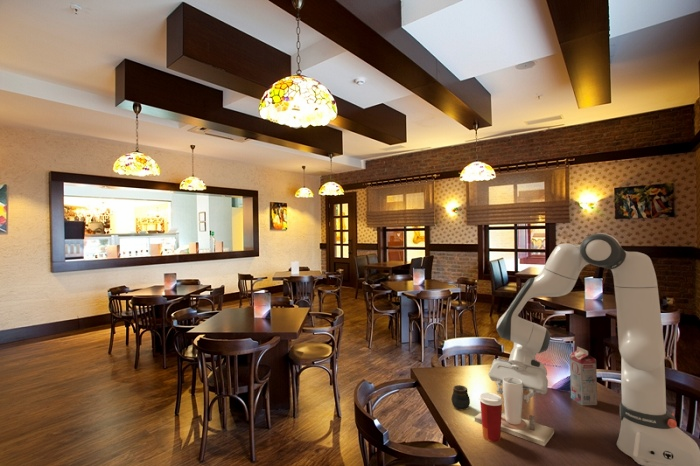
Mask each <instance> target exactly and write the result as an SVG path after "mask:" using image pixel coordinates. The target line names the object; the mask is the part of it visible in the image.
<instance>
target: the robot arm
mask: <svg viewBox="0 0 700 466" xmlns="http://www.w3.org/2000/svg"><path fill="white" fill-rule="evenodd" d="M587 265H593V266H594V267H595V266H596V267H600V268H604V269H608V270H610V271H611V273H612V276H613V285H614V286H613V287H614V295H615V305H616V306H615V307H616V323H617V337H618V338H617V339H618V350H619V354H620V357H621V359H620V360H621V365H620V366H621V367H620V368H621V370H620V371H621V373H620V374H621V375H620V384H621V386H620V387H621V389H620V391H621V401H620V403H619V416H620V420H621V421H620V422H621V423H620V428H619V435H618V438H617V441H616V446H617V448H618V449H619V450H620V451H621V452H623V453H624V454H625V455H627V456H629V457H631V458H632V460H634V462H636V463H637V464H638V465H641V466H700V447H699V446H698V443H697V442H696V440H694V439H693V438H692V437H691V436H689V435H688V434H687V433H685V432H684V431H682V429H680V428H679V427H677V421H676V417H675V414H674V413H673V412H672V413H670V412H669V411H668V410H667V395H666V394H667V392H666V391H667V390H666V371H665V357H666V350H665V341H664V332H663V323H662V315H661V314H662V313H661V306H660V304H661V303H660V295H659V288H658V279H657V275H656V271H655V268H654V265H653V261H652V259H651V258H650V256H649V255H647V254H645V253H642V252H639V251H626V250H624V248H623V247H622V246H621V244H620V242H619V241H618V239H617V238H615V237H614V236H612V235H611V234H608V233H605V232H602V233H601V232H598V233H593V234H590V235H588V236H587V237H585V238H584V239H583V240H582V242H581V244H578V245H577V244H572V243H565V242H564V243H559V244H557V245H556V246H555V247H554V249H553V250H552V252H551V253H550V255H549V257H548V258H547V260H546V262H545V264H544V267H543V269H542V270H541V272H540V273H539V274H537V275H536V276H535V277H530V278H528V279H527V280H526V281H525V282H524V284H523V286H521V288H520V290H519V291H518V292H517V294H516V295H515V297H514V298H513V300H512V302H511V303H510V304H509V306H508V308H507V309H506V310H505V312H504V313H503V314H502V315H501V316H500V317H499V319H498V320H497V324H496V328H495V329H496V332H497V333H498V335H499V337H500V338H501V339H504V340H507V341H510V342H512V343H513V348H512V350H511V351H510V354H509V358H508V360H507V359H504V358H500V357H498V358H495V359H494V360H492V363H491V366H490V368H489V371H488V376H489V379H490V380H491V381H492V382H495V383H496V386H497V389H496V394H497V395H500V396H501V395H502V396H503V387H501V386H503V378H505V377H514V378H512V379H509V380H508V382H510V383H513V384H520V383H521V382H520V381H519V380H518V379H520V380H521V381H522V382H523V390H526V391H528V393H527V394H523V401H524V402H527V403H530V401H531V398H532V397H534V396H535V393H537V394H540V395H545V394H546V393H547V392H548V388H549V387H548V386H549V380H548V377H547V376H548V371H547V368H546V366H545V365H544V364H543V363H542V362H541V361H539V360H536V356H537V354H538V355H539V354H541V353H544V352H546V351H548V348H549V345H550V340H551V333H550V331H549V329H548V328H546V327H544V326H542V325H540V324H539V323H535V322H532V321H530V320H528V319H524V318H522V317H520V316H519V315H520V313H521V311H522V310H523V309H524V307H525V305H526V304H527V302H528V301H529V300H530V299H532V298H538V297H545V298H546V297H548V298H555V297H557V298H558V297H559V298H560V297H562V296H566V295H568V294H570V293H571V291H573V288H574V287H575V285H576V283H577V281H578V279H579V276H580V273H581V272H582V270H583V269H584V268H585V267H586V266H587ZM516 378H517V379H516Z"/></svg>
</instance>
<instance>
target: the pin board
mask: <svg viewBox="0 0 700 466" xmlns="http://www.w3.org/2000/svg"><path fill="white" fill-rule="evenodd" d="M474 421H475V422H476V423H478V424H481V425H482V417H481V411H480V412H479V413H478V414H476V415H475V416H474ZM501 432H504V433H506V434H509V435H512V436H515V437H518V438H521V439H523V440H525V441H529V442H531V443H535V444H537V445H540V446H542V447H546V445H547V443H548V442H549V441H550V439H551V438H552V437H553V435H555V428H553V427H550V426H546V425H544V424H540V423H537V422H535V416H534V415H532V414H531V415H529V419H524V418H522V417H521V423H520V424H518V425H513V424H510V423H508V422H507V421H506V420H505V411H504V412H503V411H502V417H501Z"/></svg>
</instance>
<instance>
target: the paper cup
mask: <svg viewBox="0 0 700 466" xmlns="http://www.w3.org/2000/svg"><path fill="white" fill-rule="evenodd" d="M478 400H479V402H480V412H481V417H482V424H481V427H482V428H481V429H482V436H483V438H484V440H486V441H489V442H492V443H496V442H500V441H501V437H502V431H501V417H502V412H503V409H502V408H503V405H504V400H503V399H502V396H501V395H500V394H498V393H494V392H483V393H481V394H480V396H479V397H478Z"/></svg>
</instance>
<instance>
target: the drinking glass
mask: <svg viewBox="0 0 700 466" xmlns="http://www.w3.org/2000/svg"><path fill="white" fill-rule="evenodd" d="M512 378H514V377H505V378H503V383H502V390H503V392H502V397H503V406H504V407H503V408H504V413H505V420H506V421H507V422H508V423H510V424H513V425H518V424H520V423H521V418H522V412H523V411H522V410H523V401H524V389H523V382H522V381H521V380H520V379H518V380H519V381H520V382H521V383H520V384H513V383H510V382H508V380H509V379H512ZM516 379H517V378H516Z"/></svg>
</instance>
